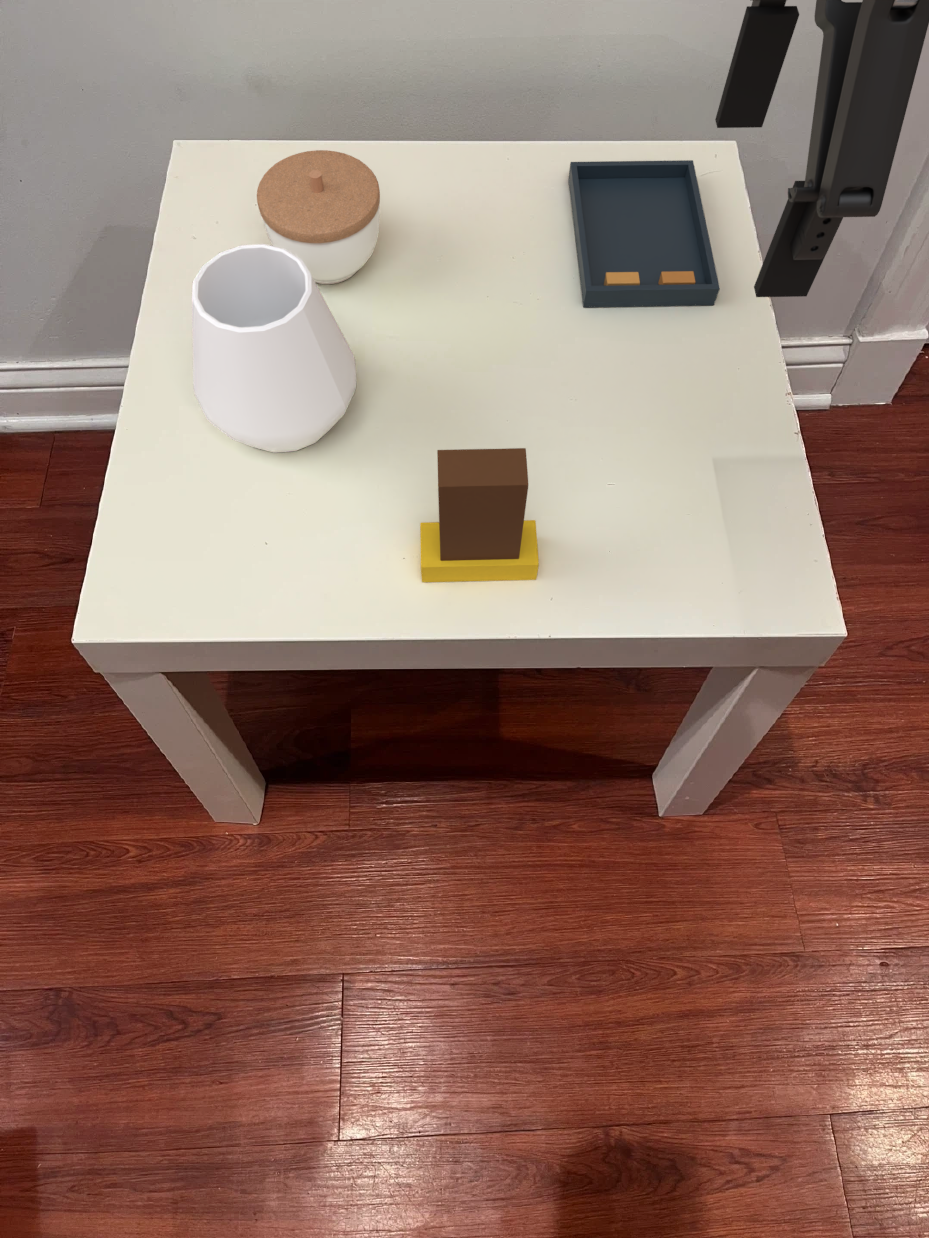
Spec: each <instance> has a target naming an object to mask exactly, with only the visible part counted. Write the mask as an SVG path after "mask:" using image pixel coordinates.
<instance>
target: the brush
mask: <svg viewBox="0 0 929 1238" xmlns="http://www.w3.org/2000/svg"><path fill="white" fill-rule="evenodd" d="M436 451H437V494H438V496H437V497H438V521H433V522H432V521H431V522H430V521H429V522H426V521H425V522H420V523H419V524H420V525H419V526H420V527H419V529H420V530H419V533H420V534H419V535H420V538H419V539H420V541H419V542H420V575H421V576H420V577H421V583H453V582H457V583H458V582H494V581H496V582H497V581H531V580H532V581H536V580H537V579H538V571H539V567H540V562H539V560H540V559H539V548H538V536H537V535H538V533H537V521H536V519H525V515H526V507H527V500H528V492H529V474H528V473H529V472H528V461H527V460H528V458H527V448H526V447H519V448H517V447H516V448H515V447H514V448H472V449H471V448H467V449H461V448H460V449H437V450H436Z"/></svg>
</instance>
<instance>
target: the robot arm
mask: <svg viewBox="0 0 929 1238" xmlns="http://www.w3.org/2000/svg"><path fill="white" fill-rule="evenodd" d="M815 2H816V3H815V7H814V8H815V9H814V23H815V26H817V28H819V29H820V30H821V31H822V43H821V51H820V59H819V67H818V76H817V82H816V83H817V84H816V91H815V99H814V106H813V113H812V123H811V131H810V139H809V146H808V153H807V160H806V161H807V162H806V169H805V177H804V180H795V181H794V183H793V185H792V187H788V188H787V200H786V203H785V206H784V207H783V211H782V213H781V216H780V218H779V222H778V223H777V226H776V228H775V231H774V234H773V236H772V238H771V242H770V243H769V247H768V249H767V252H766V254H765V257H764V259H763V262H762V265H761V267H760V270H759V273H758V276H757V278H756V280H755V284H754V285H753V289H754V293H755V297H756V298H789V297H790V298H793V297H794V298H795V297H797V298H800V297H807V296H808V294H809V292H810V290H811V287H812V286H813V283H814V281H815V279H816V277H817V274H818V273H819V271H820V268H821V266H822V264H823V262H824V260H825V257H826V255H827V254H828V251H829V249H830V247H831V245H832V243H833V240H834V239H835V236H836V234H837V232H838V230H839V228H840V226H841V223H842V221H843V219H844V218H871V217H872V218H874V217H876V216H878V215H879V213H880V212H881V208H882V205H883V201H884V198H885V195H886V194H885V193H886V189H887V186H888V182H889V179H890V174H891V171H892V167H893V162H894V160H895V155H896V152H897V147H898V144H899V139H900V136H901V132H902V128H903V124H904V120H905V117H906V112H907V109H908V105H909V102H910V99H911V98H910V97H911V93H912V89H913V86H914V82H915V78H916V74H917V70H918V66H919V63H920V60H921V55H922V52H923V47H924V44H925V39H926V36H927V32H928V29H929V0H862V1H844V0H843V1H842V0H815ZM786 3H787V0H752V2H751V6H750V5H749V6H746V8H745V11H744V15H743V18H742V22H741V25H740V30H739V33H738V37H737V39H736V44H735V47H734V51H733V55H732V57H731V61H730V66H729V69H728V72H727V76H726V80H725V83H724V86H723V91H722V95H721V98H720V101H719V104H718V108H717V113H716V116H715V119H714V120H715V125H716V128H717V129H736V128H737V129H741V128H744V129H746V128H750V129H751V128H752V129H753V128H763V126H764V125H763V124H764V122H765V120H766V117H767V113H768V110H769V108H770V105H771V102H772V99H773V95H774V93H775V90H776V86H777V83H778V81H779V77H780V75H781V71H782V68H783V66H784V62H785V60H786V56H787V54H788V50H789V48H790V44H791V41H792V38H793V35H794V33H795V30H796V26H797V23H798V20H799V17H800V12H799V9H798V6H797V5H786Z"/></svg>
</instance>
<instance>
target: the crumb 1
mask: <svg viewBox="0 0 929 1238" xmlns="http://www.w3.org/2000/svg"><path fill="white" fill-rule="evenodd" d="M616 285H640V280H639V273H638V272H606V275H605V280H604V286H616Z"/></svg>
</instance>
